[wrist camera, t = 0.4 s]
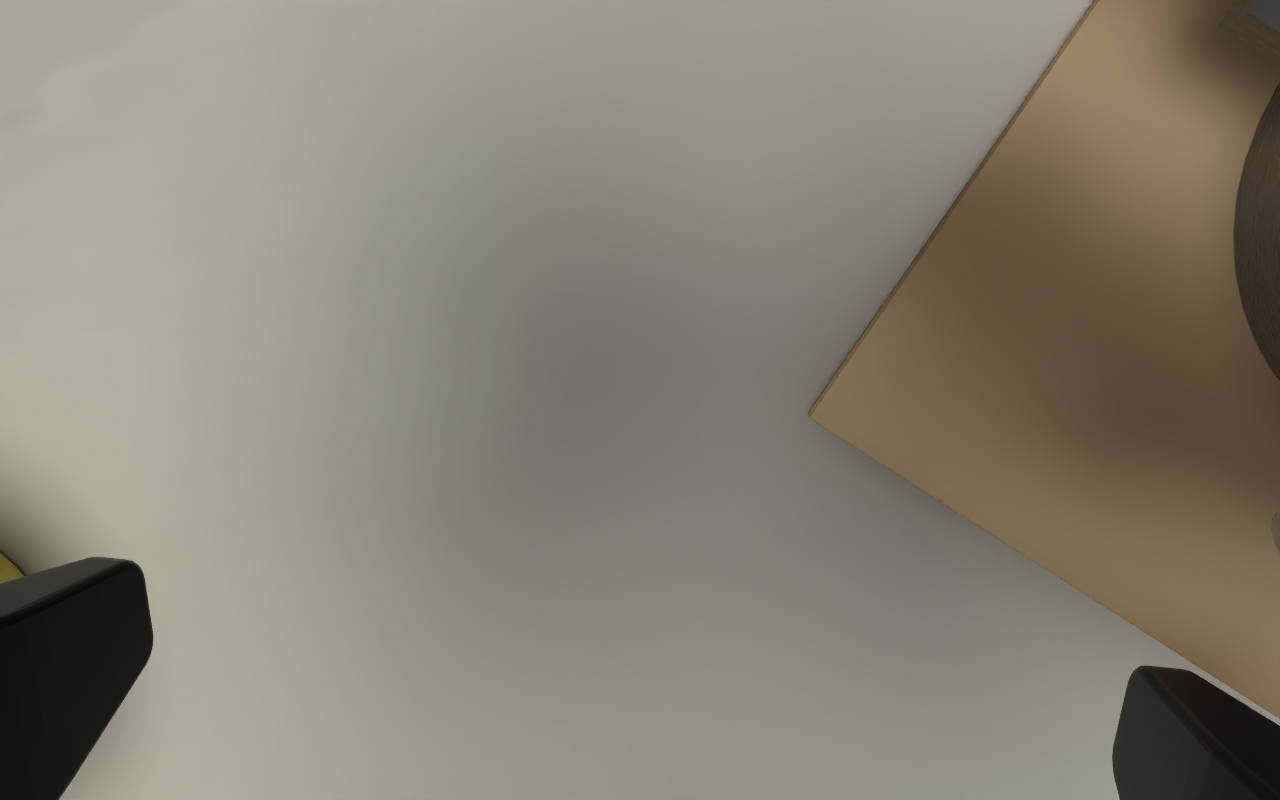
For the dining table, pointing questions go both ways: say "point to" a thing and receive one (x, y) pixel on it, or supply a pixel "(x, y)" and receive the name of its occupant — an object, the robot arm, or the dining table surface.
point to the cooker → (1260, 190)
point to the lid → (1276, 528)
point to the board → (1101, 342)
